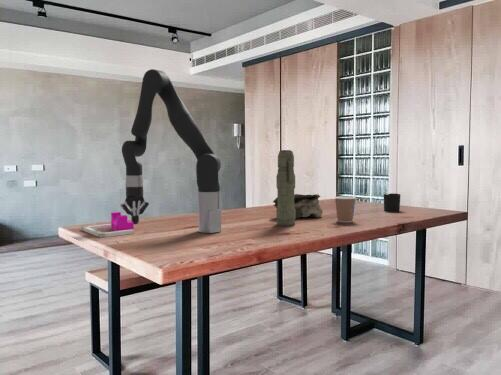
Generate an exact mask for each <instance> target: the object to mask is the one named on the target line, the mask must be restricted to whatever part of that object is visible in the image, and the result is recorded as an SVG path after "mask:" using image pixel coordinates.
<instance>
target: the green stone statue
mask: <svg viewBox="0 0 501 375" xmlns="http://www.w3.org/2000/svg"><path fill="white" fill-rule="evenodd" d="M277 154H278V155H277V168H278V169H277V174H276V181H275V182H276V189H277V197H278V208H276V209H277V210H276V211H275V212H276V218H275V219H276V225H277V226H282V227H291V226H295V225H296V217H295V208H294V195H295V190H296V189H295V188H296V174H295V169H294V167H295V155H294V152H293V150H291V149H283V150H279V151H278V153H277Z"/></svg>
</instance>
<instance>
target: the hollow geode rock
mask: <svg viewBox="0 0 501 375" xmlns="http://www.w3.org/2000/svg"><path fill="white" fill-rule="evenodd" d="M319 198H321V195H320V194H318V193H317V194H316V193H314V194H298V193H294V208H295V219H298V218H299V219H300V218H301V217H302V218H307V217H313V218H321V217H322V215H323V213H324V212H323V211H324V210H323V209H322V207H321V206H320V204H319V203H320V200H319ZM272 203H274V204H273V207H275V208H276V211H277V208H278V196H277V197H276V198H275V199H273V201H272Z"/></svg>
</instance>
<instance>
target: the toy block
mask: <svg viewBox="0 0 501 375" xmlns="http://www.w3.org/2000/svg"><path fill="white" fill-rule="evenodd" d="M121 214H122V213H121V212H120V211H115V212H110V217H111V218H110V220H111V223H110V224H111V228H110V229H112V231H113V232H114V231H123V230H131V229H132V230H134V231H135V229H134V225H135V224H134V223H133V222H132V220H128V214H124V215H123V214H122V215H121Z"/></svg>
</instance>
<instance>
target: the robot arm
mask: <svg viewBox="0 0 501 375" xmlns="http://www.w3.org/2000/svg"><path fill="white" fill-rule="evenodd" d="M140 88H141V90H140V95H139V99H138V101H139V102H138V105H137V111H136V113H135V118H134V119H133V124H132V127H131V131H130V133H131V135H132V136H134V137H135V138H134V140H126V141H124V142H123V143H122V147H121V153H122V154H121V155H122V157H123V158H122V159H123V161H124V165H125V183H124V184H125V197H126V198H125V199H124V202H123V203H121V204H120V207H121V209H122V210H123V211H124V212H125V213H126V215H127V216H128V215H129V216H131V221H132V222H133V223H134V225H138V224H139V222H140V215H143V214H144V212H145V211H146V210H147V208H148V206H149V204H150V203H149V202H147V201H145V198H144V179H143V164H142V163H141V162H138V160H137V158H136V157H141V156H144V154H145V152H146V150H147V143H148V142H147V140H148V133H149V130H150V127H151V124H152V120H153V119H152V118H153V104H154V100H155V97H156V95H158V96H159V97H160V100H162V102H163V103H164V105H165V108H166V111H167V117H168V120H169V122H170V124H171V126H172V128H173V129H174V131H175V132H176V134H177V135H178V137H179V138H180V139H181V140H182V142H184V144H186V146H187V147H189V149H190V150H191V151H192V153H193V154H194V156H195V158H196V165H195V166H196V170H195V171H196V184H197V189H198V190H197V193H198V194H197V196H198V198H197V200H198V201H197V203H198V206H197V207H198V208H197V209H198V213H197V214H198V215H197V216H198V233H199V232H200V233H204V234H206V233H207V234H214V233H220V232H222V210H221V190H220V189H221V186H220V182H219V171H220V170H221V168H222V167H221V165H222V163H221V161H220V158H219V156H217V154H216V153H215V152H214V150H213V149H212V148H211V146H210V145H209V143H208V142H207V141H206V139H205V137H204V135H203V132H202V131H201V129H200V128H199V126H198V124H197V123H196V121H195V119H194V118H193V115H192V113H190V112H189V110H188V108H187V107H186V104H185V103H184V102H183V101H182V99H181V98H180V96H179V95H178V92H177V90H176V88H175V87H174V84H173V82H172V80H171V78H170V76H169V75H168V74H167V73H166V72H165V71H163V70H159V69H154V68H153V69H152V68H151V69H149V70H147V71H146V72H144V74H143V78H142V82H141V87H140ZM128 207H129V208H128Z"/></svg>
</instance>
